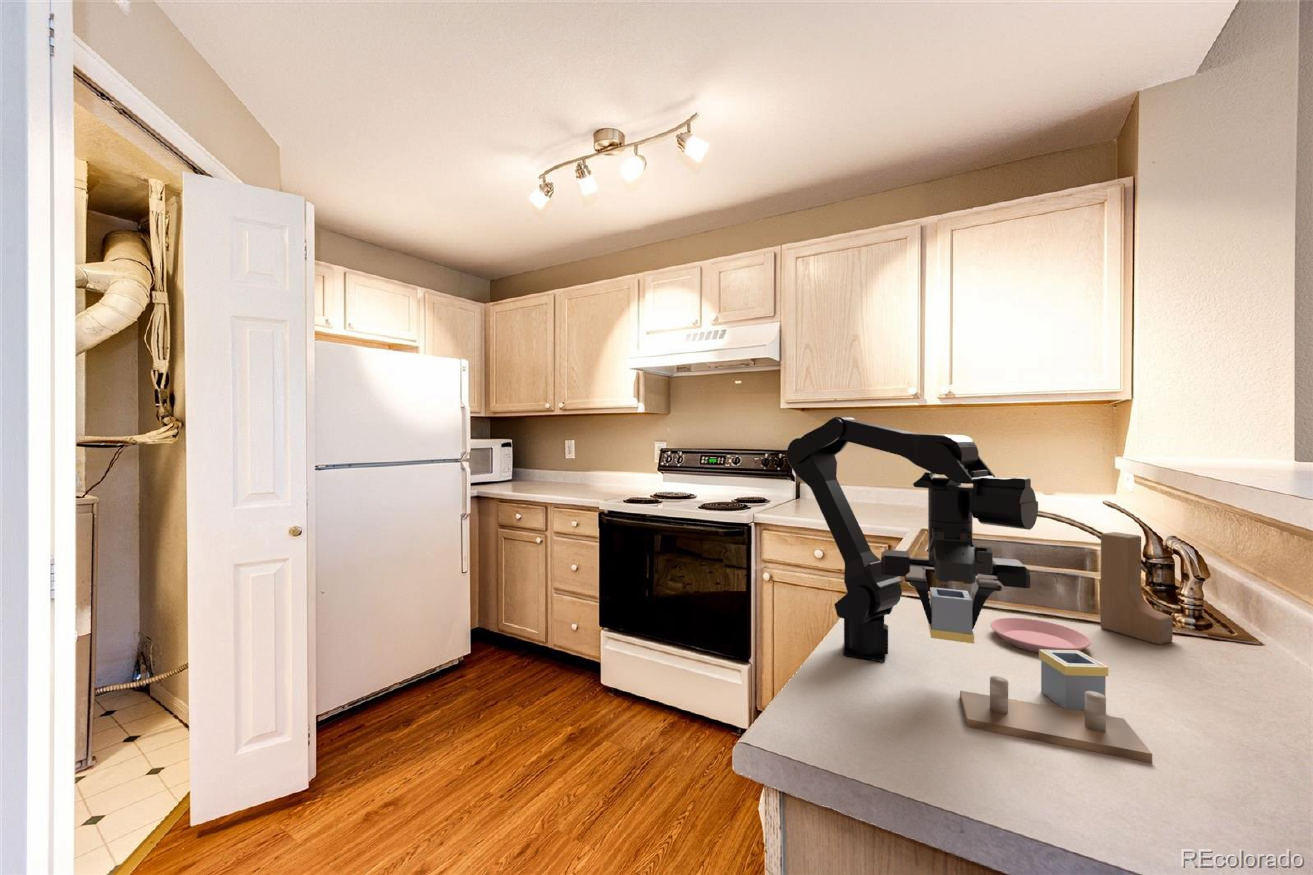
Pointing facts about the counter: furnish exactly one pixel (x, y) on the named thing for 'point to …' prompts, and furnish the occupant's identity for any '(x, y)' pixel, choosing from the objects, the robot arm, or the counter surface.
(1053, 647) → the plate
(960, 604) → the sleeve band down
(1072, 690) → the sleeve band up
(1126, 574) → the wooden block
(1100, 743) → the pin board
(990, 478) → the robot arm
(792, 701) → the counter surface
